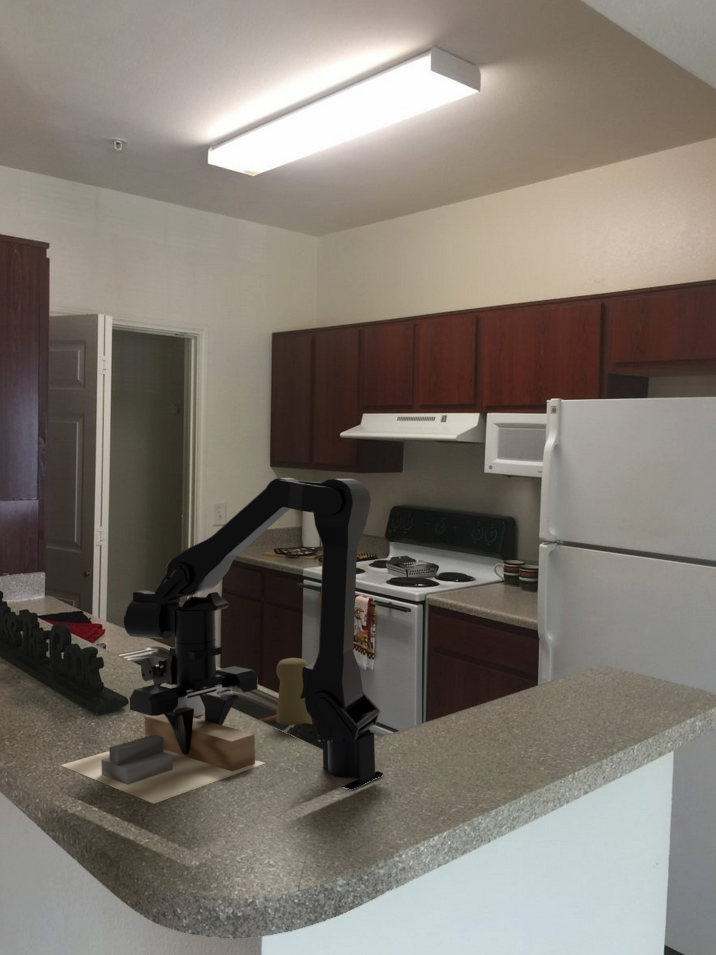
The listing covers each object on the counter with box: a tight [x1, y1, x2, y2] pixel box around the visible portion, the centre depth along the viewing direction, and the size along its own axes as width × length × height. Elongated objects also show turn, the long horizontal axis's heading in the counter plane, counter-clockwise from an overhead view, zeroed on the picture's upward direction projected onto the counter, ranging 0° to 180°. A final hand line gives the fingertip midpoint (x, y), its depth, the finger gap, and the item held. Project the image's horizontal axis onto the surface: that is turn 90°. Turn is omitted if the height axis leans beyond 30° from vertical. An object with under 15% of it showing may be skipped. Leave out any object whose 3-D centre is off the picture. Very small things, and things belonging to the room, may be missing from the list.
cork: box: [275, 657, 313, 726], centre depth 133 cm, size 6×6×11 cm
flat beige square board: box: [60, 734, 266, 804], centre depth 113 cm, size 22×18×5 cm
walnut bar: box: [144, 714, 256, 772], centre depth 117 cm, size 20×4×4 cm, turn 49°
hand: (197, 749), depth 117 cm, fingers closed on walnut bar, 4 cm apart
